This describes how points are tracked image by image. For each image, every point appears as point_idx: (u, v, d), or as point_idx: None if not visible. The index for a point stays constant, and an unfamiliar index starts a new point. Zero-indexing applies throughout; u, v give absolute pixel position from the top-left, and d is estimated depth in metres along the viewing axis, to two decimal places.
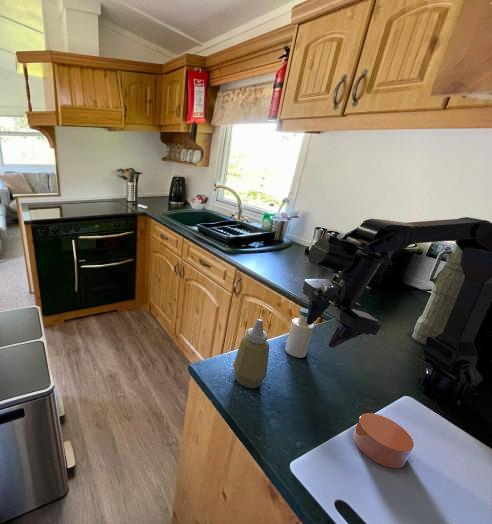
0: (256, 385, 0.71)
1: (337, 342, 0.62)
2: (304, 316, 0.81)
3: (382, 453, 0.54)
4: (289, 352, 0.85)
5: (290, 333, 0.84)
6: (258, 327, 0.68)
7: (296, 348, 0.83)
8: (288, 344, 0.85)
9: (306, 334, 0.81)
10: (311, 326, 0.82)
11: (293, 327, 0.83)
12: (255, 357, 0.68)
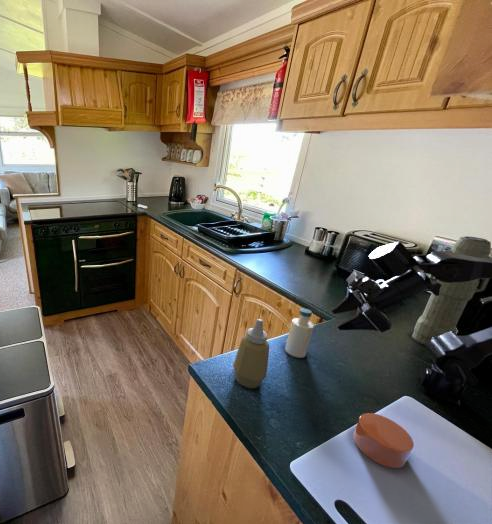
0: (256, 385, 0.71)
1: (346, 327, 0.73)
2: (304, 316, 0.81)
3: (382, 453, 0.54)
4: (289, 352, 0.85)
5: (290, 333, 0.84)
6: (258, 327, 0.68)
7: (296, 348, 0.83)
8: (288, 344, 0.85)
9: (306, 334, 0.81)
10: (311, 326, 0.82)
11: (293, 327, 0.83)
12: (255, 357, 0.68)
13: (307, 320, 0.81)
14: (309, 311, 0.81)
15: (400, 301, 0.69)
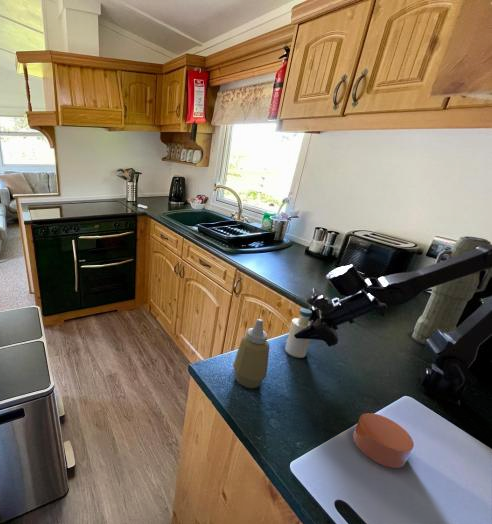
0: (256, 385, 0.71)
1: (301, 336, 0.81)
2: (304, 316, 0.81)
3: (382, 453, 0.54)
4: (289, 352, 0.85)
5: (290, 333, 0.84)
6: (258, 327, 0.68)
7: (296, 348, 0.83)
8: (288, 344, 0.85)
9: None
10: None
11: (293, 327, 0.83)
12: (255, 357, 0.68)
13: (307, 320, 0.81)
14: (309, 311, 0.81)
15: (350, 319, 0.75)
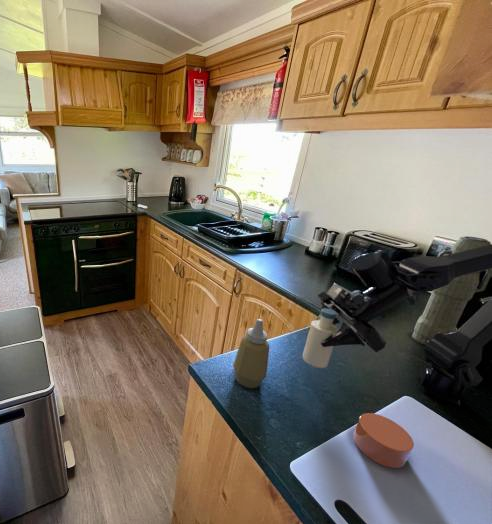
0: (256, 385, 0.71)
1: (331, 343, 0.66)
2: (330, 318, 0.67)
3: (382, 453, 0.54)
4: (312, 364, 0.70)
5: (312, 341, 0.69)
6: (258, 327, 0.68)
7: (322, 358, 0.69)
8: (310, 354, 0.70)
9: None
10: (336, 328, 0.68)
11: (318, 334, 0.68)
12: (255, 357, 0.68)
13: (332, 322, 0.67)
14: (332, 311, 0.67)
15: (382, 313, 0.64)
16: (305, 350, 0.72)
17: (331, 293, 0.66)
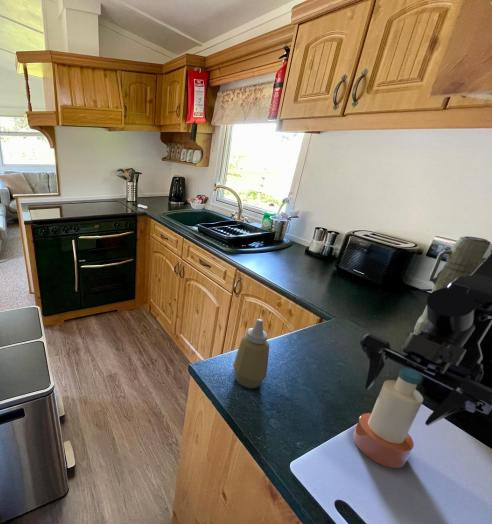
0: (256, 385, 0.71)
1: (436, 419, 0.50)
2: (417, 383, 0.51)
3: (382, 453, 0.54)
4: (396, 441, 0.54)
5: (397, 416, 0.52)
6: (258, 327, 0.68)
7: (407, 431, 0.53)
8: (393, 431, 0.53)
9: None
10: (414, 390, 0.53)
11: (407, 407, 0.51)
12: (255, 357, 0.68)
13: None
14: (412, 371, 0.52)
15: None
16: (381, 425, 0.55)
17: (418, 349, 0.50)
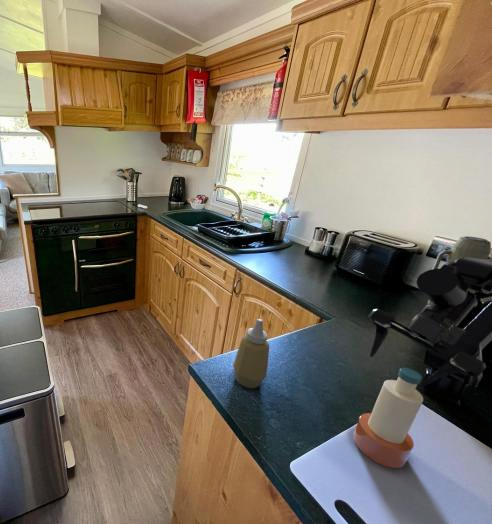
0: (256, 385, 0.71)
1: (429, 382, 0.59)
2: (417, 383, 0.51)
3: (382, 453, 0.54)
4: (396, 441, 0.54)
5: (397, 416, 0.52)
6: (258, 327, 0.68)
7: (407, 431, 0.53)
8: (393, 431, 0.53)
9: None
10: (414, 390, 0.53)
11: (407, 407, 0.51)
12: (255, 357, 0.68)
13: None
14: (412, 371, 0.52)
15: None
16: (381, 425, 0.55)
17: (421, 331, 0.56)
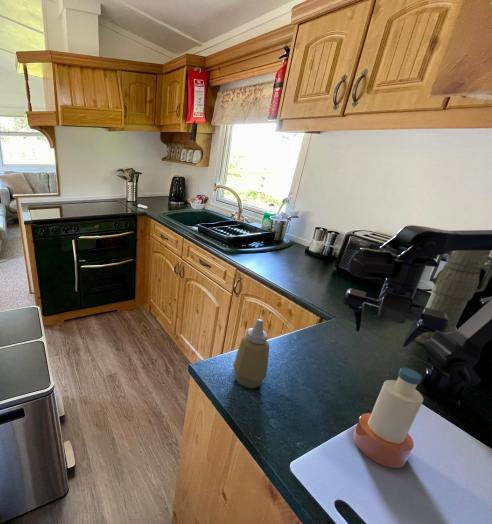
0: (256, 385, 0.71)
1: None
2: (417, 383, 0.51)
3: (382, 453, 0.54)
4: (396, 441, 0.54)
5: (397, 416, 0.52)
6: (258, 327, 0.68)
7: (407, 431, 0.53)
8: (393, 431, 0.53)
9: None
10: (414, 390, 0.53)
11: (407, 407, 0.51)
12: (255, 357, 0.68)
13: None
14: (412, 371, 0.52)
15: None
16: (381, 425, 0.55)
17: (389, 317, 0.63)
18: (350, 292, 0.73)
